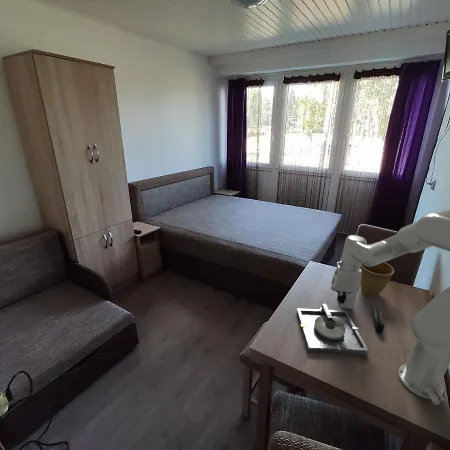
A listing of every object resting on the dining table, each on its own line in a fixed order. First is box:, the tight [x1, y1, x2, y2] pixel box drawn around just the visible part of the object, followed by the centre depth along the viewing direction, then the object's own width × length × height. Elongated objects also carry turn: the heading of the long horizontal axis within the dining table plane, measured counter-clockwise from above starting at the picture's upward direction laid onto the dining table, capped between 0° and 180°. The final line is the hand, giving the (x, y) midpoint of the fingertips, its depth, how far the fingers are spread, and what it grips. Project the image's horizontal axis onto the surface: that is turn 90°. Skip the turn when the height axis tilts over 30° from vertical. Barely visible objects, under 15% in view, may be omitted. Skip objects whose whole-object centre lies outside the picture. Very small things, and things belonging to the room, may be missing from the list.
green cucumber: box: [371, 305, 385, 335], centre depth 116 cm, size 5×3×15 cm
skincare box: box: [338, 291, 358, 310], centre depth 125 cm, size 8×6×15 cm
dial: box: [314, 303, 346, 341], centre depth 110 cm, size 16×12×6 cm
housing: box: [296, 307, 370, 356], centre depth 110 cm, size 23×23×3 cm
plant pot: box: [360, 261, 395, 298], centre depth 133 cm, size 15×15×16 cm
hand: (340, 301), depth 114 cm, fingers closed
